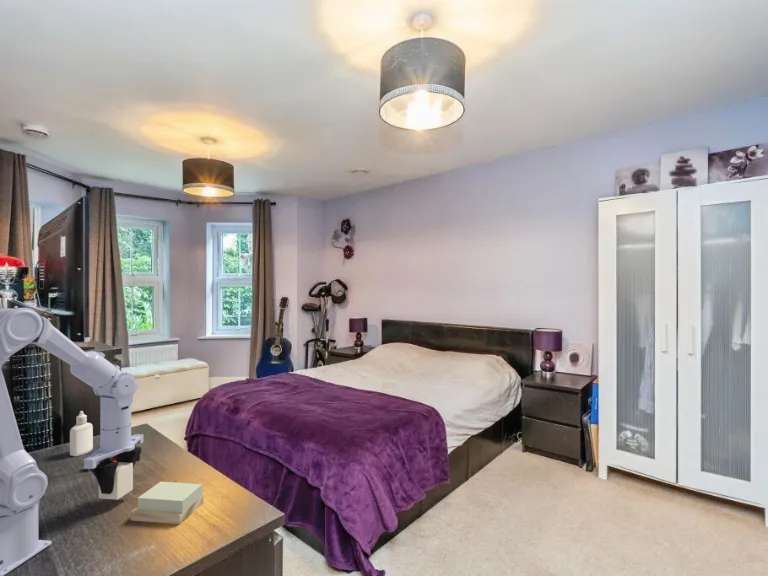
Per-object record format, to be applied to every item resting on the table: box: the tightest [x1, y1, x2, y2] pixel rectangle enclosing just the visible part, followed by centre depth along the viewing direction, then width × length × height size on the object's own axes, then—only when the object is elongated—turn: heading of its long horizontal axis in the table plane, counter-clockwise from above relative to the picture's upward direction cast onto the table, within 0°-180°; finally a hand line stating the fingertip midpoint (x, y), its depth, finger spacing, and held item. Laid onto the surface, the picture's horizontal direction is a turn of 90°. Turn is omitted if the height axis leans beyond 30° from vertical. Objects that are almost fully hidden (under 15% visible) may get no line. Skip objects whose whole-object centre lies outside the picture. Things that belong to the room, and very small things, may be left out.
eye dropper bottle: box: [69, 410, 94, 457], centre depth 117 cm, size 4×6×12 cm
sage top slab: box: [137, 481, 203, 513], centre depth 87 cm, size 7×10×2 cm
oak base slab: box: [130, 494, 204, 525], centre depth 86 cm, size 8×11×2 cm
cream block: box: [98, 462, 134, 500], centre depth 90 cm, size 4×4×6 cm
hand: (116, 487), depth 90 cm, fingers closed on cream block, 4 cm apart
